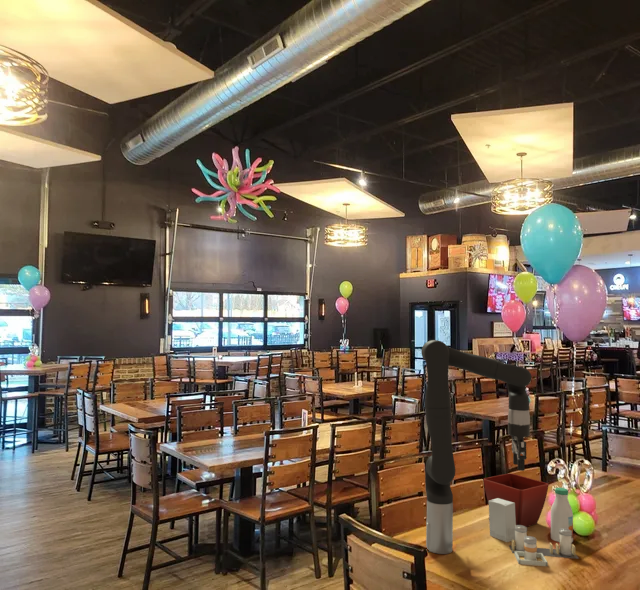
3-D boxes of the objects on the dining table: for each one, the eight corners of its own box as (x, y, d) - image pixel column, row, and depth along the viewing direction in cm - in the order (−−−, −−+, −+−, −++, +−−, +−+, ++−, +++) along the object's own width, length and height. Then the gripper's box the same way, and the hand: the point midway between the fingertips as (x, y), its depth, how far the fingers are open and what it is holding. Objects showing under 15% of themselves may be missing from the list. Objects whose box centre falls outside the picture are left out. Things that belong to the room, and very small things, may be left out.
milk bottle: (563, 548, 204) (563, 492, 205) (546, 541, 210) (546, 487, 212) (577, 545, 207) (577, 490, 208) (560, 537, 214) (560, 485, 215)
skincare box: (516, 543, 207) (516, 502, 208) (506, 546, 204) (506, 505, 205) (498, 536, 214) (498, 496, 215) (488, 539, 211) (488, 499, 212)
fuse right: (561, 555, 193) (561, 532, 194) (558, 550, 197) (557, 528, 198) (573, 556, 193) (573, 532, 193) (569, 551, 197) (569, 528, 197)
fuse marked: (526, 564, 187) (525, 540, 187) (522, 559, 191) (522, 535, 191) (538, 565, 186) (538, 541, 187) (534, 559, 191) (534, 536, 191)
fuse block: (512, 557, 194) (512, 544, 195) (508, 549, 201) (508, 537, 201) (579, 563, 191) (579, 549, 191) (573, 554, 198) (573, 542, 198)
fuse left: (516, 551, 196) (516, 528, 196) (514, 547, 200) (514, 524, 200) (528, 552, 195) (528, 529, 195) (525, 548, 199) (525, 525, 199)
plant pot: (550, 524, 228) (549, 483, 229) (521, 533, 217) (521, 490, 218) (510, 511, 244) (510, 472, 245) (481, 519, 233) (482, 478, 234)
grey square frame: (518, 568, 186) (518, 559, 186) (514, 559, 193) (514, 550, 193) (547, 570, 184) (547, 562, 184) (542, 561, 192) (542, 553, 192)
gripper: (504, 418, 209) (504, 462, 208) (511, 424, 195) (511, 471, 194) (525, 419, 208) (525, 463, 207) (534, 425, 194) (534, 473, 193)
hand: (518, 467), depth 200 cm, fingers open, 8 cm apart
